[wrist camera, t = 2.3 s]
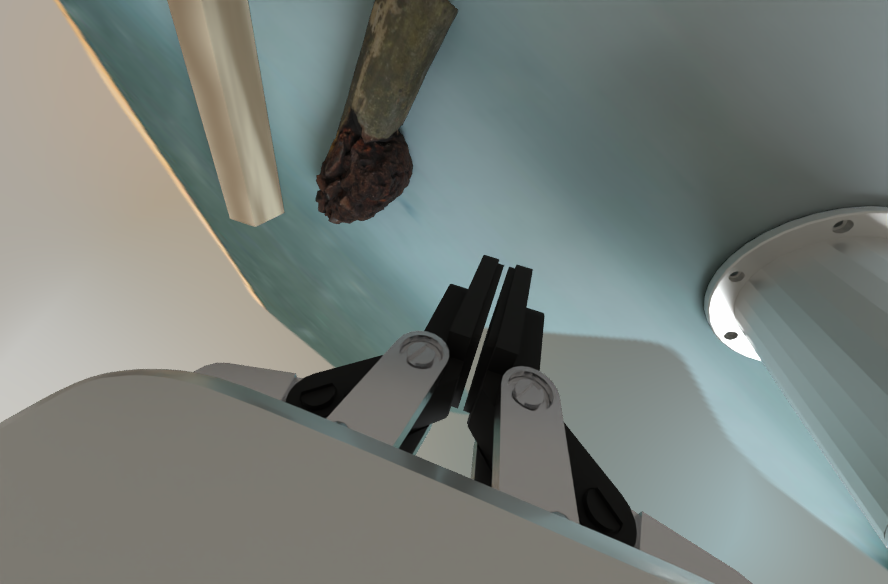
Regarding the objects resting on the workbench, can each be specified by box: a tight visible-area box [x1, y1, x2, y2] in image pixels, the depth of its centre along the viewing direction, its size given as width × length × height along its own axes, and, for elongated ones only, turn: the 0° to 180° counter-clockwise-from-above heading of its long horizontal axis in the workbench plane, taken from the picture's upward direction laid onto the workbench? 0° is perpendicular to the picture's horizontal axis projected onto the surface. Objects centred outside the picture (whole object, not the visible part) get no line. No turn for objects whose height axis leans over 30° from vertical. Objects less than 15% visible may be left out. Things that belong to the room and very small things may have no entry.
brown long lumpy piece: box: [316, 0, 458, 224], centre depth 23 cm, size 18×7×6 cm, turn 149°
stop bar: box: [167, 0, 284, 227], centre depth 26 cm, size 3×20×4 cm, turn 171°
